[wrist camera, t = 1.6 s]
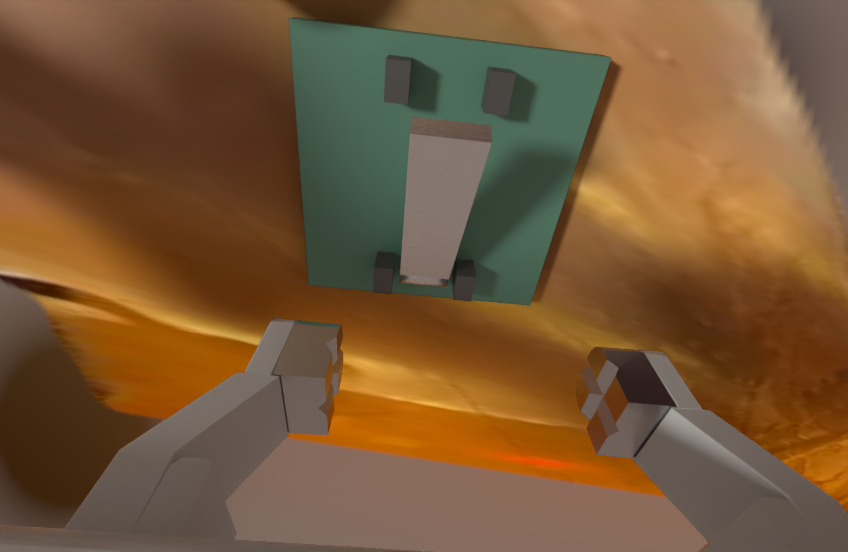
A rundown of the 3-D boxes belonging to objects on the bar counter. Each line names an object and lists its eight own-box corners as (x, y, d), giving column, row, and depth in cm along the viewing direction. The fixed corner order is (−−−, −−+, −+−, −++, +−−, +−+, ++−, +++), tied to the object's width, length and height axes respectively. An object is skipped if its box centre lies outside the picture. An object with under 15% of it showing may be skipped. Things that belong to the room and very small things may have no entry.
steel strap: (400, 267, 34) (398, 286, 34) (412, 112, 20) (409, 138, 19) (446, 272, 35) (446, 290, 34) (491, 121, 20) (491, 147, 19)
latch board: (312, 275, 37) (301, 302, 33) (295, 17, 25) (275, 19, 22) (526, 295, 37) (535, 323, 34) (602, 55, 26) (627, 62, 23)
